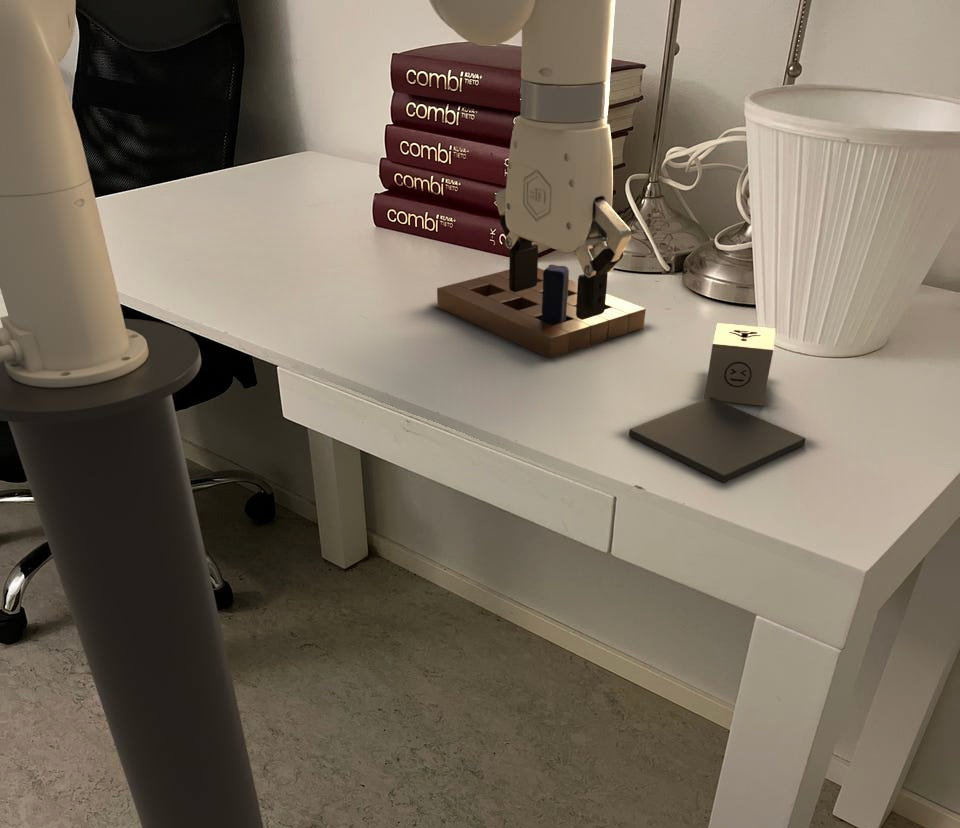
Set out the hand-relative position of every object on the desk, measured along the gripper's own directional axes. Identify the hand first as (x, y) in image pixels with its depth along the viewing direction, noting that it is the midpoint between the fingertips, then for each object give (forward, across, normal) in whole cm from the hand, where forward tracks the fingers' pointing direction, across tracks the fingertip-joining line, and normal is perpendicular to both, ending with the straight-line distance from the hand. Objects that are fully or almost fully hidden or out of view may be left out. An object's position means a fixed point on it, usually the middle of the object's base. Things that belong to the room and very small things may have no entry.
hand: (555, 301), depth 94 cm
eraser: (+4, 0, 0) cm, 4 cm away
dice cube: (+4, +20, +4) cm, 20 cm away
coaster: (+4, +25, -4) cm, 25 cm away
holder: (+4, -5, +2) cm, 7 cm away
